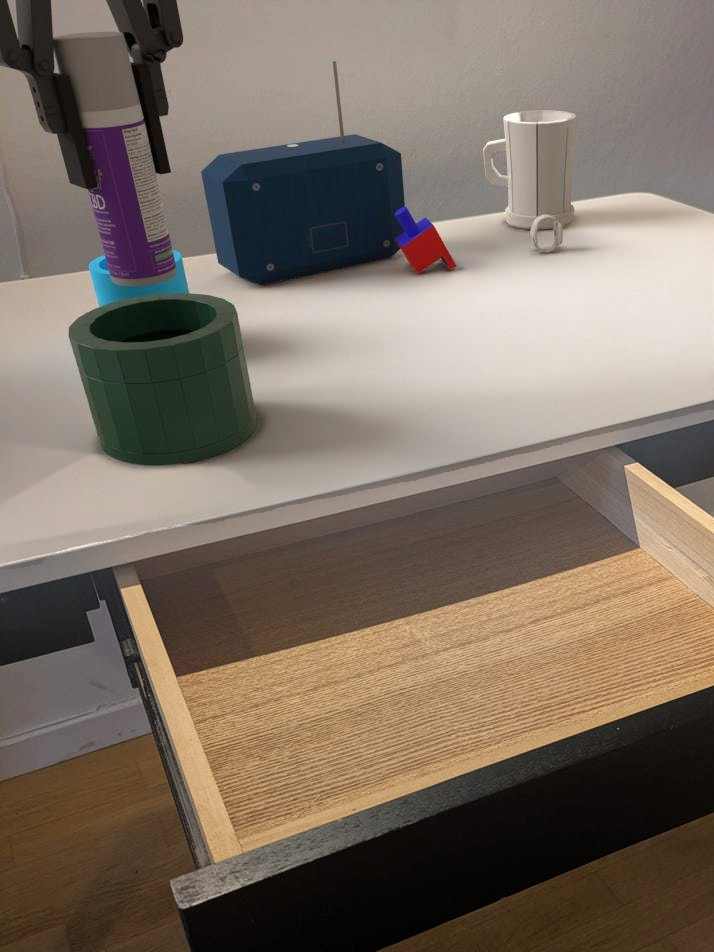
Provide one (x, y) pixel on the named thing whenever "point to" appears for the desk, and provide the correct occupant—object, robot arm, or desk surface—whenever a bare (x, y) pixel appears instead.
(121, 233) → the container
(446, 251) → the toy building block
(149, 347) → the jar
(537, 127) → the cup
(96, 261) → the mug
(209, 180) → the radio
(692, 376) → the desk surface
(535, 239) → the grey ring
